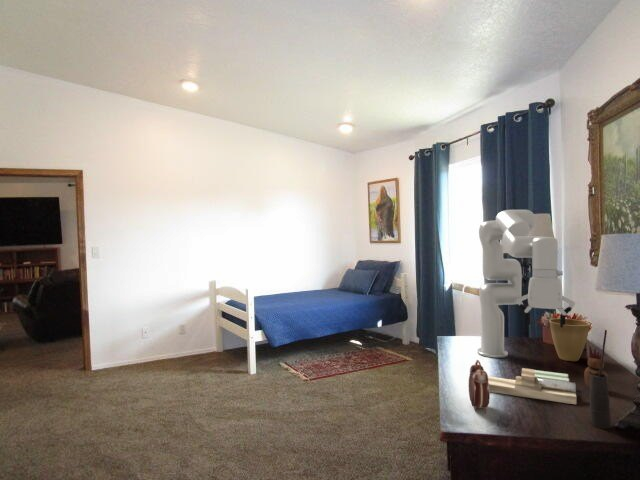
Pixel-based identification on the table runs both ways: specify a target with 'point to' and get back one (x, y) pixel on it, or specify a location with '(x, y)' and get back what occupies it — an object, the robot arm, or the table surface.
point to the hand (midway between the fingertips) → (545, 325)
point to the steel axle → (556, 385)
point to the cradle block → (551, 376)
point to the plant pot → (569, 338)
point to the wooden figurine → (593, 366)
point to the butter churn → (599, 397)
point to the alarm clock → (478, 386)
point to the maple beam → (529, 388)
